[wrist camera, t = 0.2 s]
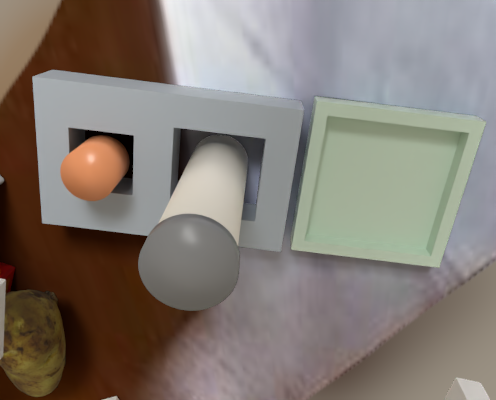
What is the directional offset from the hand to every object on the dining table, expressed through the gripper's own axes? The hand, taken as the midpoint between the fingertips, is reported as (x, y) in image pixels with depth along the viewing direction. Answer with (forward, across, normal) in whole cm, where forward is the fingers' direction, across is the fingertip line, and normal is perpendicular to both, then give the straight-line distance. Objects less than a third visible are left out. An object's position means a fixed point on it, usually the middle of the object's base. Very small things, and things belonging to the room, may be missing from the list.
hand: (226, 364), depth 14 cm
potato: (+28, -16, -24) cm, 40 cm away
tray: (+27, +11, -2) cm, 30 cm away
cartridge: (+27, -2, -4) cm, 28 cm away
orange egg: (+25, -11, -5) cm, 27 cm away
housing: (+27, -6, -4) cm, 28 cm away
